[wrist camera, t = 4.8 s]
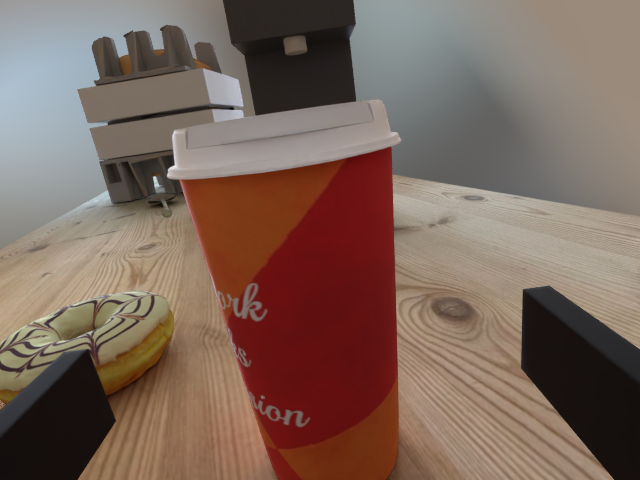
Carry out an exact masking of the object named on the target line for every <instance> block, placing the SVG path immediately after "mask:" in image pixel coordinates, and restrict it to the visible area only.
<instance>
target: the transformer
mask: <svg viewBox="0 0 640 480" xmlns="http://www.w3.org/2000/svg"><path fill="white" fill-rule="evenodd" d="M160 30H161V31H162V36H163V43H164V49H161V50H154V49H153V45H152V42H151V38H150V34H149V33H148V32H146V31H138V32H133V31H131V32H129V33H127V34H125V35H124V37H125V38H126V42H127V47H128V52H129V54H128V55H125V56H122V57H120V58H119V57H118V54H117V50H116V47H115V43H114V40H113V39H112V38H108V37H103V38H99V39H98V40H96V41H94V42H93V45H92V51H93V54H94V58H95V62H96V65H97V69H98V72H99V76H100V79H99V80H98V81H94V83H95V84H96V86H95V87H89V88H83V89H78V93H79V96H80V99H81V103H82V106H83V109H84V112H85V115H86V119H87V122H88V123H108V125H107V126H100V127H94V128H90V131H91V134H92V137H93V141H94V144H95V147H96V150H97V153H98V157H99V160H104V161H100V166H101V169H102V172H103V175H104V179H105V182H106V185H107V189H108V192H109V195H110V198H111V202H112V203H118V202H125V201H132V200H135V199H139V198H143V197H148V196H152V195H155V194H156V193H155V187H154V181H153V177H154V176H156V177H157V181H158V184H159V185H164V188H165V191H166V192H167V193H178V192H182V191H183V190H182V187H181V184H180V181H179V180H178V179H169V178H168V177H167V174H168V169H169V168H170V167H172V166H174V165H175V161H174V152H173V142H172V135H173V133H174V130H178V129H182V128H187V127H192V126H197V125H203V124H209V123H214V122H220V121H226V120H232V119H239V118H244V115H243V112H242V110H234V108H238V107H243V101H242V96H241V91H240V86H239V81H238V80H237V79H234V78H232V77H229V76H226V75H223V74H222V73H221V70H220V67H219V64H218V61H217V58H216V53H215V49H214V47H213V46H212V45H211V44H210V43H201V42H198V43H196V44H195V51H196V56H197V60H196V59H194V58H193V57H192V53H191V51H190V47H189V44H188V41H187V38H186V35H185V33H184V31H183V30H182V29H181V28H179V27H177V26H170V25H166V26H164V27H162V28H161V29H160ZM106 159H108V160H106Z"/></svg>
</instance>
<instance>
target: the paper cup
mask: <svg viewBox="0 0 640 480" xmlns="http://www.w3.org/2000/svg"><path fill="white" fill-rule="evenodd" d="M172 142H173V152H174V161H175V165H174V166H172V167H170V168H169V169H168V174H167V177H168V178H169V179H178V180H179V181H180V184H181V187H182V190H183V193H184V196H185V199H186V202H187V206H188V209H189V212H190V215H191V218H192V221H193V224H194V227H195V231H196V234H197V237H198V240H199V243H200V246H201V249H202V252H203V256H204V259H205V262H206V265H207V268H208V271H209V274H210V277H211V281H212V284H213V287H214V290H215V293H216V296H217V299H218V303H219V306H220V309H221V312H222V315H223V318H224V321H225V324H226V328H227V331H228V334H229V337H230V340H231V343H232V346H233V349H234V353H235V356H236V359H237V362H238V365H239V368H240V371H241V374H242V377H243V380H244V383H245V387H246V390H247V393H248V396H249V399H250V402H251V405H252V408H253V411H254V414H255V417H256V420H257V423H258V426H259V429H260V432H261V435H262V438H263V441H264V444H265V447H266V450H267V453H268V455H269V458H270V461H271V464H272V466H273V469H274V471H275V473H276V475H277V477H278V479H279V480H386V479H387V478H388V477H389V475H390V473H391V472H392V470H393V468H394V465H395V462H396V458H397V453H398V438H399V409H398V361H397V322H396V287H395V253H394V218H393V183H392V148H391V146H393V145H396V144H398V143H399V142H401V138H400V137H399V135H398V134H397V133H396V132H391V131H390V127H389V122H388V118H387V114H386V109H385V106H384V103H383V102H381V100H368V101H367V100H366V101H357V102H349V103H341V104H333V105H326V106H319V107H312V108H305V109H298V110H291V111H284V112H277V113H271V114H264V115H258V116H251V117H245V118H239V119H232V120H226V121H220V122H214V123H209V124H203V125H197V126H192V127H187V128H182V129H178V130H174V133H173V135H172Z"/></svg>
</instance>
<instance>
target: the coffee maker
mask: <svg viewBox="0 0 640 480" xmlns="http://www.w3.org/2000/svg"><path fill="white" fill-rule="evenodd" d="M223 3H224V8H225V13H226V18H227V23H228V28H229V33H230V39H231V43H232V45H233V46H234V47H236V48H237V49H238V50H239V51H240V52H241V53H242V54H243V55H244V56H245V61H246V66H247V72H248V77H249V82H250V87H251V93H252V99H253V104H254V109H255V115H256V116H258V115H264V114H271V113H277V112H284V111H291V110H298V109H305V108H312V107H319V106H326V105H333V104H341V103H349V102H356V95H355V86H354V77H353V67H352V58H351V49H350V36H351V34H352V32H353V29H354V27H355V24H356V23H355V13H354V3H353V0H223Z"/></svg>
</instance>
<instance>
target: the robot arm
mask: <svg viewBox="0 0 640 480" xmlns="http://www.w3.org/2000/svg"><path fill="white" fill-rule="evenodd" d="M521 369H522V370H523V371H524V372H525V373H526V375H527V376H528V377H529V378H530V379H531V381H532V382H533V383H534V384H535V385H536V387H537V388H538V389H539V390H540V391H541V393H542V394H543V395H544V396H545V397H546V399H547V400H548V401H549V402H550V403H551V404H552V406H553V407H554V408H555V409H556V410H557V412H558V413H559V414H560V415H561V416H562V418H563V419H564V420H565V421H566V422H567V424H568V425H569V426H570V427H571V428H572V430H573V431H574V432H575V433H576V434H577V436H578V437H579V438H580V439H581V440H582V442H583V443H584V444H585V445H586V446H587V448H588V449H589V450H590V451H591V452H592V454H593V455H594V456H595V457H596V458H597V460H598V461H599V462H600V463H601V464H602V466H603V467H604V468H605V469H606V470H607V472H608V473H609V474H610V475H611V476H612V478H613V479H614V480H640V349H638V348H637V347H636V346H634V345H633V344H631V343H630V342H628V341H627V340H626V339H624V338H623V337H621V336H620V335H619V334H617V333H616V332H614V331H613V330H611V329H610V328H609V327H607V326H606V325H604V324H603V323H601V322H600V321H599V320H597V319H596V318H594V317H593V316H592V315H590V314H589V313H587V312H586V311H584V310H583V309H582V308H580V307H579V306H577V305H576V304H574V303H573V302H572V301H570V300H569V299H567V298H566V297H565V296H563V295H562V294H560V293H559V292H557V291H556V290H555V289H553V288H552V287H550V286H544V287H536V288H529V289H523V309H522V353H521ZM115 422H116V420H115V417H114V414H113V412H112V409H111V407H110V404H109V401H108V399H107V396H106V394H105V391H104V388H103V386H102V383H101V381H100V378H99V375H98V373H97V370H96V368H95V365H94V362H93V360H92V357H91V355H90V352H89V349H82V350H74V351H67V352H63V353H62V354H61V355H60V356H59V357H58V358H57V359H56V360H54V361H53V362H52V363H51V364H50V365H49V366H48V367H47V368H46V369H45V370H44V371H43V372H42V373H40V374H39V375H38V376H37V377H36V378H35V379H34V380H33V381H32V382H31V383H30V384H29V385H27V386H26V387H25V388H24V389H23V390H22V391H21V392H20V393H19V394H18V395H17V396H16V397H15V398H13V399H12V400H11V401H10V402H9V403H8V404H7V405H6V406H5V407H4V408H3V409H2V410H0V480H78V478H79V477H80V475H81V474H82V472H83V471H84V469H85V467H86V466H87V464H88V463H89V461H90V460H91V458H92V457H93V455H94V454H95V452H96V451H97V449H98V448H99V446H100V445H101V443H102V442H103V440H104V439H105V437H106V436H107V434H108V432H109V431H110V429H111V428H112V426H113V425H114V423H115Z"/></svg>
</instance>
